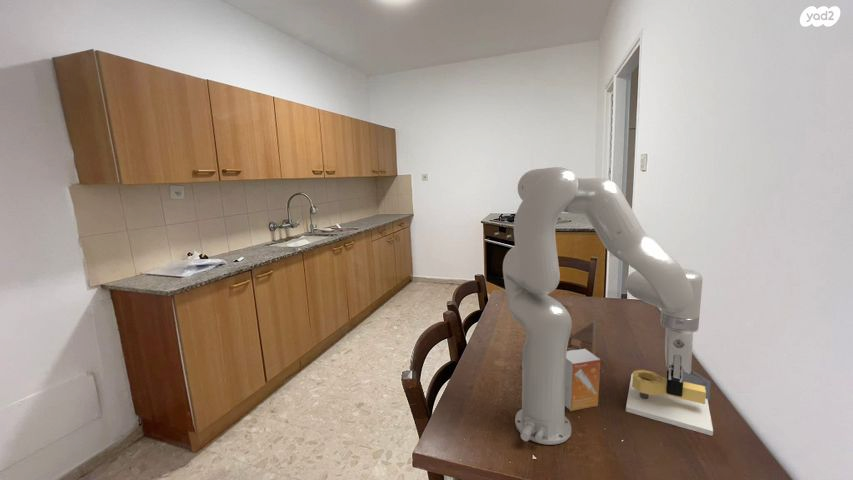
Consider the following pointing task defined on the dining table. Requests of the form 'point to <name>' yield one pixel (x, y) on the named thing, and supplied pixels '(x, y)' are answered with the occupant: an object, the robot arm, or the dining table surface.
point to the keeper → (697, 381)
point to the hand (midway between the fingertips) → (673, 390)
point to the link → (660, 383)
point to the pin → (643, 395)
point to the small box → (581, 379)
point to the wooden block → (582, 333)
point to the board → (671, 410)
